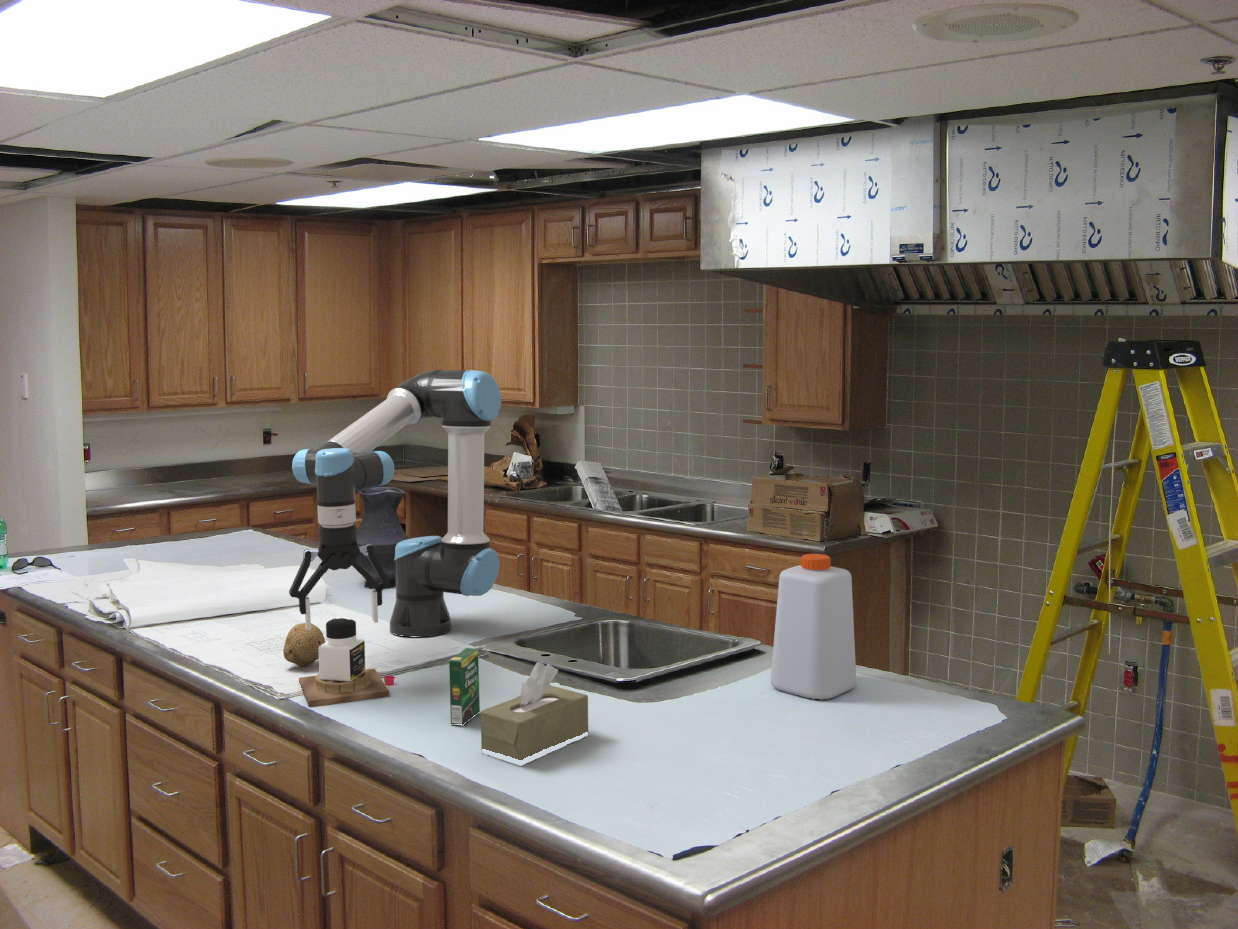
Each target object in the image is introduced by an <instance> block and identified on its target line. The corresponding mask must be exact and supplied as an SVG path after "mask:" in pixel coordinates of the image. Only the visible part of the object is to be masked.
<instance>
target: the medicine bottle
mask: <svg viewBox="0 0 1238 929" xmlns="http://www.w3.org/2000/svg"><path fill="white" fill-rule="evenodd" d="M325 634H326V636H325V643H324V644H322V645H321V646H319V647H318V651H319V659H318V669H319V670H318V674H319V678H320V680H332V681H347V682H351V681H352V680H354V679H355V678H357V677H358V676H359V675H361V674H362V673H364V672H365V670H366V650H365V648H366V647H365V646H366V645H365V639H363V638H357V622H356V620H355V619H353V618H351V617H336V618H335V617H334V618H332V619H330V620H327V622H326V623H325Z"/></svg>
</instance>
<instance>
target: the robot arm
mask: <svg viewBox="0 0 1238 929" xmlns="http://www.w3.org/2000/svg"><path fill="white" fill-rule="evenodd" d="M501 407H502V395H501V391H500V387H499V384H498V382H497V381H496V380H495V378H494V377H493V375H492V374H490V373H488V372H485V371H484V370H483V371H482V370H474V369H468V370H465V369H462V370H461V369H459V370H458V369H456V370H455V369H431V370H427V371H425V372H421V373H419V374H417V375H415V376H413V377H410V378H409V379H406V380H405V381H403V382H401V383H400V384H398V385H396V387H394V388H393V389H391V390H390V391H389V393H388V394H387V396H386V399H384V401H382V402H381V403H379V404H378V405H377V406H374V407H373V408H372V409H371V410H370V411H367V413H365V414H363V416H361V417H360V418H358V419H357V420H356V421H353V422H352V423H351V424H350V425H348V426H347V427H345V428H344V429H342V431H340V432H339V433H337V434H336V435H335V436H333V437H332V438H330V439H329V440H327V441H326V442H325V443H323V444H322V445H320V446H319V447H317V448H315V449H314V448H307V449H305V448H304V449H301V450H299V451H297V453H296V454H295V455H294V457H293V459H292V465H291V469H292V474H293V476H294V478H295V479H296V480H297V481H298V482H299V483H303V484H309V485H312V486H315V485H316V496H317V497H316V499H317V501H316V503H317V523H318V524H319V525H320V526H319V527H318V540H319V541H318V545H319V547H318V550H309V549H308V548H306V549H304V550H303V557H302V561H301V564H300V566H299V568H298V571H297V573H296V575H295V577H294V578H293V581H292V583H291V586H290V588H289V591H288V594H289V596H290V597H291V598H296V599H298V610H299V612H300V614H301V615H304V616H305V617H304V618H305V622H304V623H306V629H307V631H310V630H311V623H312V621H311V601H310V598H309V596H308V595H309V594H310V592H311V591H312V590H313V589H314V588H315V586H317V584H318V583H319V581H320V580H321V578H322V577H323V576H324V574H326V573H327V572H328V571H329V570H332V571H339V570H340V569H341V570H349V569H350V567H352V568H353V569H354V570H356V571H357V573H359V574H360V575H361V576H362V577H363V578H364V580H367V581H368V582H369V583H370V584H371V585H372V586H373V587H374V588H375V589H370V592H371V593H370V596H371V597H370V598H371V599H370V600H371V620H372V621H373V622H374V624H375V623H376V624H377V623H379V612H378V610H379V608H378V606H382V605H383V591H384V590H385V589H384V588H386V587H390V585H391V583H390V582H389V580H388V578H387V576H386V575H385V573H384V571H383V570H382V568H381V566H380V564H379V563H378V561H377V559H376V558H375V556H374V551H373V547H372V546H371V545H370V544H369V543H368V544H366V545H365V546H360V547H358V545H357V530H358V529H357V525H356V524H355V522H356V521H357V514H356V495H355V494H356V493H357V492H358V491H360V490H365V489H369V488H374V487H376V488H377V487H383V486H384V485H387V484H389V482H391V480H392V479H393V478H394V475H395V464H394V460H393V459H392V456H390V455H389V454H388V453H387V452H385V451H382V450H376V451H375V449H376V448H377V447H379V446H380V445H381V444H383V443H384V442H386V440H388V439H389V438H390V437H392V436H394V435H395V434H396V433H397V432H399V431H400V430H401V429H403V428H404V427H405V426H411V425H415V424H416V423H418V422H419V421H421V420H424V419H429V418H437V419H441V427H442V428H443V429H444V430H445V432H446V433H447V435H448V436H447V438H448V440H447V441H448V442H447V444H448V448H447V450H448V451H447V460H448V461H447V467H448V468H447V533H446V534H445V535H444V536H443V537H441V536H439V535H428V536H418V537H413V538H409V539H407V540H404V541H401V542H399V543H398V544H397V545H396V547H395V558H394V561H395V579H396V586H395V604H394V606H393V610H392V613H391V617H390V621H389V632H390V633H391V634H392V633H395V634H397V635H403V636H429V637H434V636H440V635H442V634H445V633H447V632H449V631H450V630H451V629H452V618H451V616H450V612H449V610H448V607H447V605H446V602H445V597H444V593H447V594H448V593H449V594H454V595H455V594H456V595H461V596H462V595H463V596H465V597H469V596H474V597H480V596H484V595H485V594H487V593H488V592H489V591H490V590H491V589H492V588H493V586H494V585H495V583H496V581H497V578H498V576H499V573H500V572H499V571H500V558H499V555H498V553H497V551H496V550H495V549H493V548H491V545H490V544H491V543H490V538H489V537H488V536H487V535H486V534H485V532H484V525H485V524H484V519H485V518H484V510H485V509H484V507H485V506H484V505H485V504H484V503H485V499H484V498H485V497H484V496H485V494H484V493H485V492H484V491H485V434H486V433H487V431H488V430H489V429H491V428H492V421H493V420H495V419H496V418H497V417H498V415H499V413H500V412H499V411H501ZM360 552H362V553H363V554H364V555H365V556H367V557H368V559H369V560H370V562H371V564H372V565H373V567H374V569H375V570H376V572H377V574H378V576H379V577H380V579H381V581H382V582H379V583H378V582H377V581H376V580H375V579H374V578H373V577H372V576H371V575H370V574H369V573H368V572H367V571H366V570H365V569H364V568H363V567H362V566H361V565H360V564H359V563H358V562H357V561H356V558H357V556H358V555H359V553H360ZM315 558H319V559H320V560H321V562H320V563H319V565H318V566H317V568H316V569H315V571H314V572H313V574H311V576H310V577H309V578H308V580H307V581H306V582H305V584H304V585H303V586H302V584H303V582H304V579H305V577H306V575H307V573H308V570H309V568H310V566H311V562H313V561H314V560H315ZM301 586H302V587H301ZM300 588H301V589H300ZM386 589H387V588H386ZM397 635H396V636H397ZM430 635H431V636H430Z"/></svg>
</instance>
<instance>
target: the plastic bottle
mask: <svg viewBox="0 0 1238 929" xmlns="http://www.w3.org/2000/svg"><path fill="white" fill-rule="evenodd" d="M831 560H832V559H831V557H830V556H829V555H827V554H823V553H822V554H821V553H806V554H803V555H802V556H801V558H800V565H796V566H792V567H789V568H786V569H784V570H782V571H781V572H780V574H779V576H778V577H779V579H778V590H777V601H776V602H777V603H776V613H775V625H774V636H773V648H772V659H771V668H770V669H771V670H770V671H771V672H770V684H771V686H772V687H773V688H774V689H775V690H778V691H780V692H784V693H788V694H791V695H794V696H798V695H799V697H802V698H807V699H809V698H811V700H815V699H820V700H819V701H824V700H823V699H826V700H830V698H831V699H834V698H835V697H838V696H840V695H842V694H844V693H846V692H848V691H851V690H852V689H854V688H855V687H856V684H857V670H856V668H857V667H856V666H857V664H856V649H855V646H856V645H855V626H854V625H855V624H854V623H855V622H854V606H853V605H854V601H853V584H852V583H853V582H852V581H853V580H852V573H851V572H850V571H849V570H847V569H845V568H841V567H836V566H831V565H832V563H831Z"/></svg>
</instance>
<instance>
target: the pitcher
mask: <svg viewBox="0 0 1238 929" xmlns="http://www.w3.org/2000/svg"><path fill="white" fill-rule="evenodd" d="M357 492H358V493H359V495H360V497H361V499H362V504H363V515H362V519H361V522H360V525H359V527H358V529H356V530H357V545H358V547H360V546H365V545H366V544H368V543H369V544H370V545H371V546H372V547H373V551H374V556H375V558H376V559H377V561H378V563H379V564H380V566H381V568H382V570H383V571H384V573H385V575H386V576H387V578H388V580H389V582H390V583H391V585H390V587H386V588H384V589H383V590H385V589H390V588H394V587H395V588H396V579H395V561H394V558H395V547H396V545H397V544H398V543H399V542H401V541H404V540H407V539H410V538H409V535H408V534H406V532H405V530H404V529H403V526H402V524H401V522H400V518H399V515H398V507H399V505H400V503H401V501H402V500H403V497H404V496H405V491H404V490H403V489H400V488H398V487H396V486H380V487H377V488H376V487H374V488H369V489H365V490H360V491H357ZM356 561H357V562H358V563H359V564H360V565H361V566H362V567H363V568H364V569H365V570H366V571H367V572H368V573H369V574H370V575H371V576H372V577H373V578H374V579H375V580H376V581H377V582H378V583H379V582H382V581H381V579H380V577H379V576H378V574H377V572H376V570H375V569H374V567H373V565H372V564H371V562H370V560H369V559H368V557H367V556H365V555H364V554H363V553H362V552H360V553H359V555H358V556H357V558H356ZM365 580H366V579H365ZM364 588H366V589H370V590H371V589H375V588H374V587H373V586H372V585H371V584H370V583H369V582H368V581H367V580H366V581H365V582H364Z"/></svg>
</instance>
